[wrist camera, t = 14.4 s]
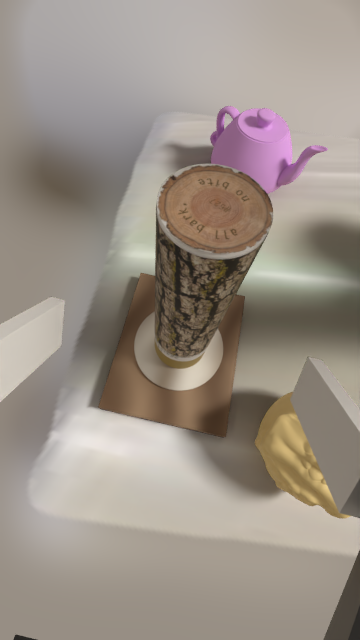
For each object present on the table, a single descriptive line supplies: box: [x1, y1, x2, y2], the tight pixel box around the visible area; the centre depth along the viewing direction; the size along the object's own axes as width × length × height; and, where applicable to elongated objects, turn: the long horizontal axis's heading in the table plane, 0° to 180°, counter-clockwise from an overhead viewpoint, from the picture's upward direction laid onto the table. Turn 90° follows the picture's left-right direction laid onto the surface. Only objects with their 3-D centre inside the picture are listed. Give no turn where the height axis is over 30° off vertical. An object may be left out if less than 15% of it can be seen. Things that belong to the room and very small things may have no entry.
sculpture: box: [255, 392, 350, 518], centre depth 33 cm, size 11×12×11 cm
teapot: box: [210, 106, 328, 194], centre depth 51 cm, size 20×14×12 cm
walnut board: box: [98, 273, 245, 437], centre depth 41 cm, size 16×20×2 cm
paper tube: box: [154, 164, 273, 369], centre depth 28 cm, size 7×7×25 cm
